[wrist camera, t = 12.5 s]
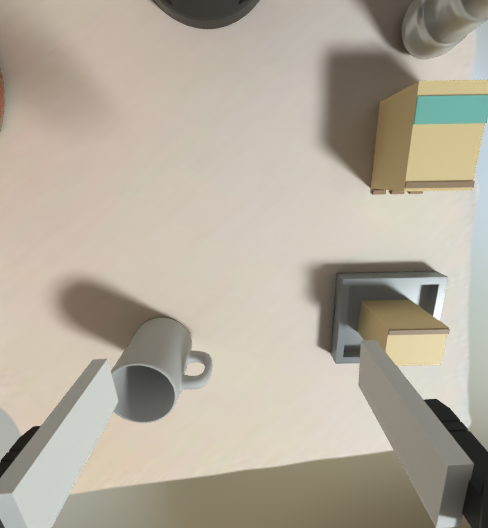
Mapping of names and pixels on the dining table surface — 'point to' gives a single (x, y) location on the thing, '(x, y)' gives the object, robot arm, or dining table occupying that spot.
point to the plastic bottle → (440, 25)
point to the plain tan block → (403, 331)
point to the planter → (1, 100)
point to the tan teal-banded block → (430, 137)
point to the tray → (378, 288)
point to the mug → (156, 371)
